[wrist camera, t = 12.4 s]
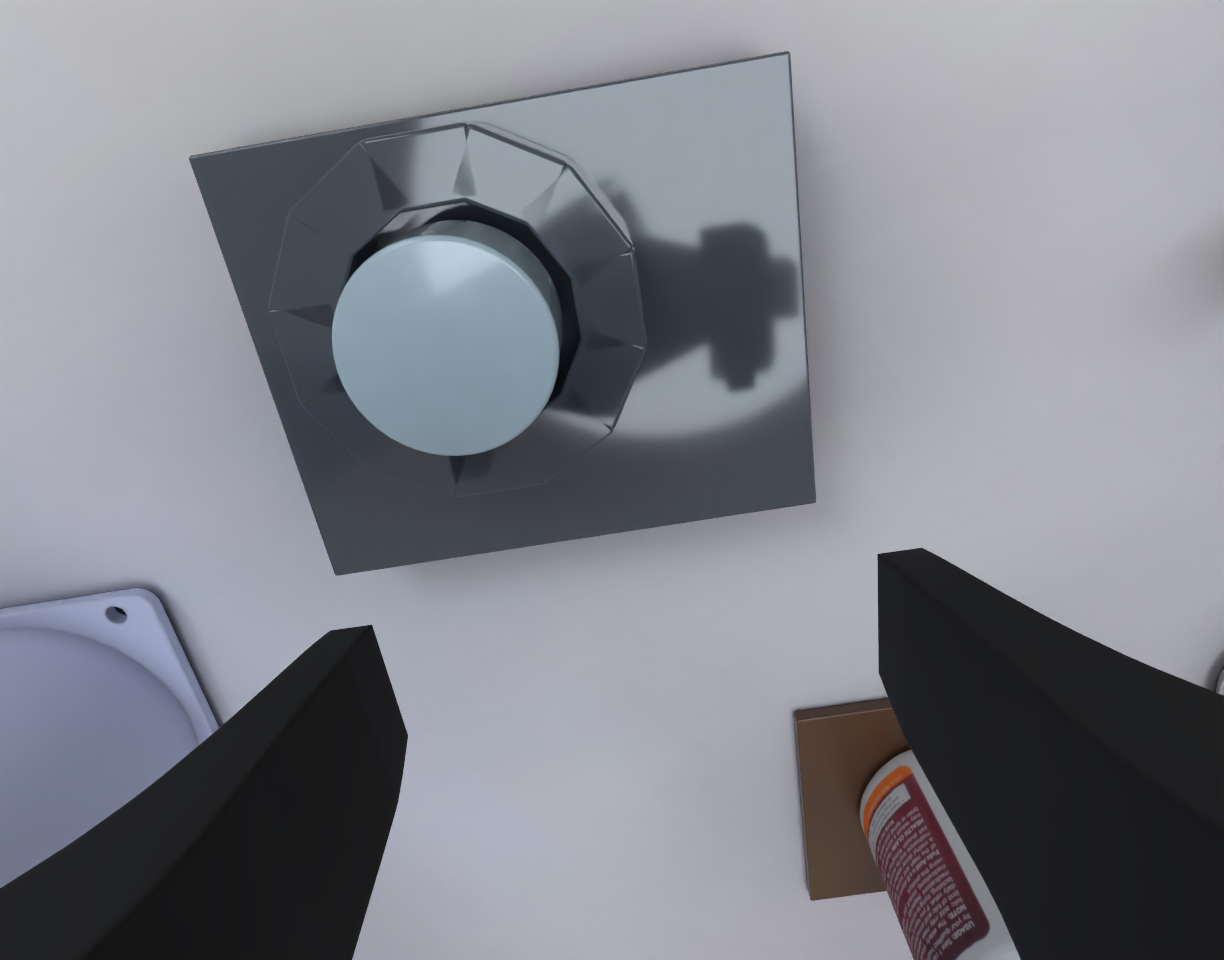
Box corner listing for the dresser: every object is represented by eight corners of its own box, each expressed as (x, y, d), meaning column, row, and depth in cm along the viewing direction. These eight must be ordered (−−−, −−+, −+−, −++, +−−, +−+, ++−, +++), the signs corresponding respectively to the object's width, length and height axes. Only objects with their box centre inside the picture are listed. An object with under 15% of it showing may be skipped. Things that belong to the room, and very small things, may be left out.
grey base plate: (360, 531, 20) (310, 622, 17) (235, 151, 17) (135, 161, 13) (793, 464, 20) (840, 542, 16) (765, 59, 16) (817, 42, 12)
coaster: (807, 890, 26) (810, 901, 26) (792, 711, 23) (796, 721, 23) (1055, 857, 26) (1062, 868, 25) (1074, 671, 23) (1082, 680, 22)
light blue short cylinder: (393, 429, 15) (366, 472, 13) (337, 237, 14) (299, 256, 12) (578, 400, 15) (577, 439, 13) (542, 203, 14) (535, 216, 12)
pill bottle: (889, 874, 25) (1020, 1202, 18) (832, 776, 24) (950, 1092, 16) (1035, 817, 24) (1239, 1135, 17) (987, 710, 23) (1190, 1013, 15)
